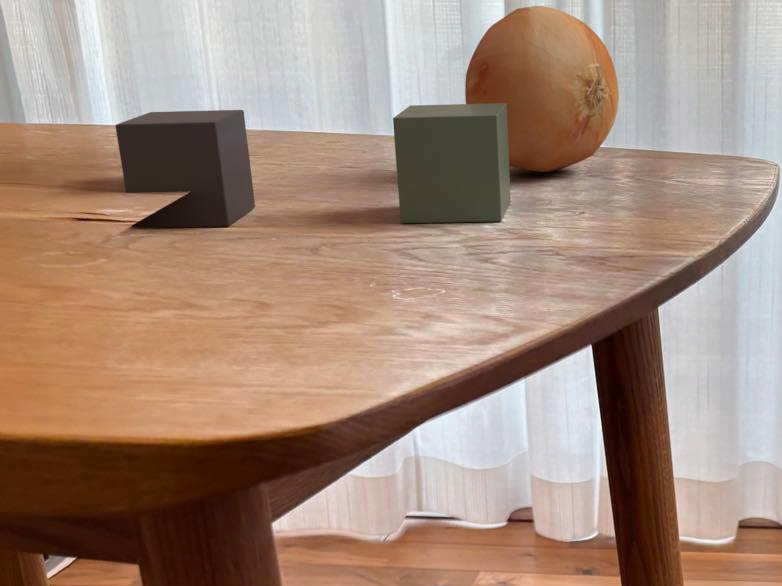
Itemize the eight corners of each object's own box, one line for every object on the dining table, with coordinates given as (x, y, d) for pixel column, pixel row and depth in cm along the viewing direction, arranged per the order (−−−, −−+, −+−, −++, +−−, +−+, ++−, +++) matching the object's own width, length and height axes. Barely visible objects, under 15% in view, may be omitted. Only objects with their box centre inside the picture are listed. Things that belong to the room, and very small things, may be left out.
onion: (563, 190, 78) (559, 11, 74) (437, 178, 84) (426, 10, 80) (649, 167, 85) (650, 1, 81) (527, 157, 91) (522, 2, 87)
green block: (400, 223, 71) (392, 117, 68) (416, 204, 76) (409, 105, 73) (501, 221, 70) (497, 115, 68) (510, 202, 75) (506, 102, 73)
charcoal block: (131, 228, 72) (114, 124, 70) (164, 209, 77) (149, 111, 75) (229, 226, 72) (215, 122, 69) (255, 207, 76) (244, 109, 74)
